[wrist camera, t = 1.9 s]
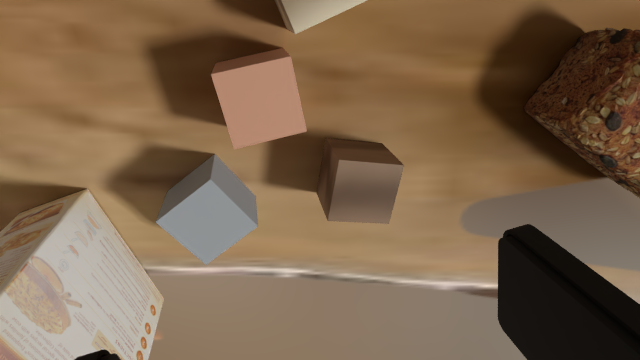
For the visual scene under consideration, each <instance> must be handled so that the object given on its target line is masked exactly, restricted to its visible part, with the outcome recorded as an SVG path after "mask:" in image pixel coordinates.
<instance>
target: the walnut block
mask: <svg viewBox="0 0 640 360" xmlns="http://www.w3.org/2000/svg"><path fill="white" fill-rule="evenodd" d="M403 167H404V165H403V164H402V163H401V162H400V161H399V160H398V159H397V158H396V157H395V156H394V155H393V154H392V153H391V152H390V151H389V150H388V149H387V148H386V147H385V146H384V145H383V144H382V143H372V142H361V141H351V140H340V139H330V138H326V139H325V145H324V151H323V157H322V163H321V169H320V175H319V181H318V187H317V195H318V197H319V200H320V202H321V205H322V208H323V210H324V213H325V215H326V218H327V220H328V221H341V222H362V223H384V224H389V221H390V218H391V214H392V210H393V206H394V202H395V198H396V194H397V191H398V187H399V183H400V179H401V175H402V171H403Z"/></svg>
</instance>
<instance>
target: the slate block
mask: <svg viewBox="0 0 640 360" xmlns="http://www.w3.org/2000/svg"><path fill="white" fill-rule="evenodd" d="M156 223H157V224H158V225H160V226H161V227H162V228H163V229H164V230H165V231H167V232H168V233H169V234H170V235H171V236H173V237H174V238H175V239H176V240H177V241H178V242H180V243H181V244H182V245H183V246H184V247H186V248H187V249H188V250H189V251H190V252H192V253H193V254H194V255H195V256H196V257H197V258H199V259H200V260H201V261H202V262H203V263H205V264H206V265H207V264H208V263H209V262H211V261H212V260H213V259H215V258H216V257H217V256H219V255H220V254H221V253H223V252H224V251H225V250H227V249H228V248H229V247H231V246H232V245H234V244H235V243H236V242H238V241H239V240H240V239H242V238H243V237H244V236H246V235H247V234H248V233H250V232H251V231H252V230H254V229H255V228H256V227H258V220H257V207H256V196H255V195H254V194H253V193H252V192H251V191H250V190H249V189H248V188H247V187H246V186H245V185H244V184H243V182H242V181H241V180H240V179H239V178H238V177H237V176H236V175H235V174H234V173H233V172H232V171H231V170H230V169H229V168H228V167H227V166H226V165H225V164H224V163H223V162H222V161H221V160H220V159H219V158H218V157H217V156H216V155H215V154H214V155H213V156H211V157H210V158H209V159H208V160H206V161H205V162H204V163H203V164H201V165H200V166H199V167H197V168H196V169H195V170H194V171H192V172H191V173H190V174H189V175H187V176H186V177H185V178H183V179H182V180H181V181H180V182H178V183H177V184H176V185H175V186H173V187H172V188H171V189H169V190H168V191H167V194H166V196H165V199H164V201H163V204H162V207H161V209H160V212H159V214H158V217H157V220H156Z"/></svg>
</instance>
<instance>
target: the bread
mask: <svg viewBox="0 0 640 360" xmlns="http://www.w3.org/2000/svg"><path fill="white" fill-rule="evenodd" d="M524 109H525V112H527V113H528V114H529V115H530V116H531V117H532V118H533V119H535V120H536V121H537V122H538V123H540V124H541V125H542V126H543V127H545V128H546V129H547V130H549V131H550V132H551V133H552V134H553V135H554V136H555V137H556V138H558V139H559V140H560V141H561V142H563V143H564V144H566V145H567V146H568V147H570V148H571V149H572V150H573V151H575V152H576V153H577V154H578V155H579V156H580V157H581V158H583V159H585V160H586V161H587V162H588V163H589V164H591V165H592V166H594V167H595V168H596V169H597V170H599V171H600V172H601V173H603V174H604V175H606V176H607V177H608V178H609V179H611V180H613V181H615V182H616V183H617V184H619V185H621V186H622V187H623V188H625V189H627V190H629V191H630V192H632V193H633V194H634V195H636V196H637V197H639V198H640V30H634V31H632V30H630V29H625V28H624V29H623V30H621V31H618V30H616V29H613V28H606V29H605V30H599V31H598V30H594V31H590V32H587V33H585V34H584V35H582V36H581V37H580V38H579V39H578V41H577V44H576V46H574V47H572V48H571V49H570V50H569V51H567V52H566V53H565V55H564V56H563V57H562V59H561V61H560V64H559V67H558V68H557V69H556V70H555V71H554V73H553V74H552V75H551V77H550V78H549V79H548V80H546V81H545V82H544V83H542V84H541V85H540V86H539V88H538V89H537V91H536V92H535V94H534V95H533V96H532V97H531V98H530V99H529V100H528V101H527V104H526V105H525V106H524Z"/></svg>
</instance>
